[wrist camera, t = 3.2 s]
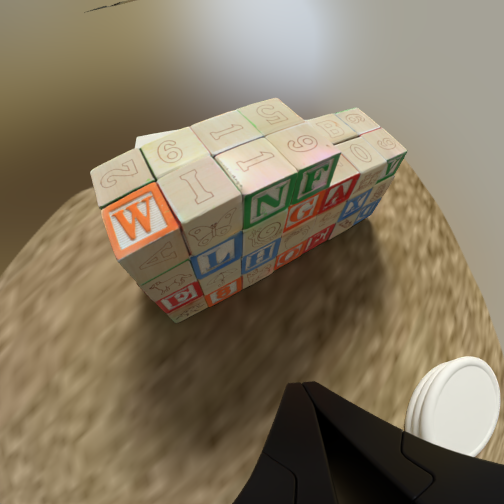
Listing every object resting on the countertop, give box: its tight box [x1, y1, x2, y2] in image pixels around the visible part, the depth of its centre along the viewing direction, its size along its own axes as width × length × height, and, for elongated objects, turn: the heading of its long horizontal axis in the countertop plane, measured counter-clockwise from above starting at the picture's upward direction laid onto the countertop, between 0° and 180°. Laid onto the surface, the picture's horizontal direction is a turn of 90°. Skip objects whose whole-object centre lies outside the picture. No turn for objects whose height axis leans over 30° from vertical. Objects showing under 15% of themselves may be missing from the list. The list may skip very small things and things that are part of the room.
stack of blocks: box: [90, 98, 407, 323], centre depth 20 cm, size 21×6×12 cm, turn 121°
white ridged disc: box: [405, 356, 500, 457], centre depth 16 cm, size 10×10×4 cm
